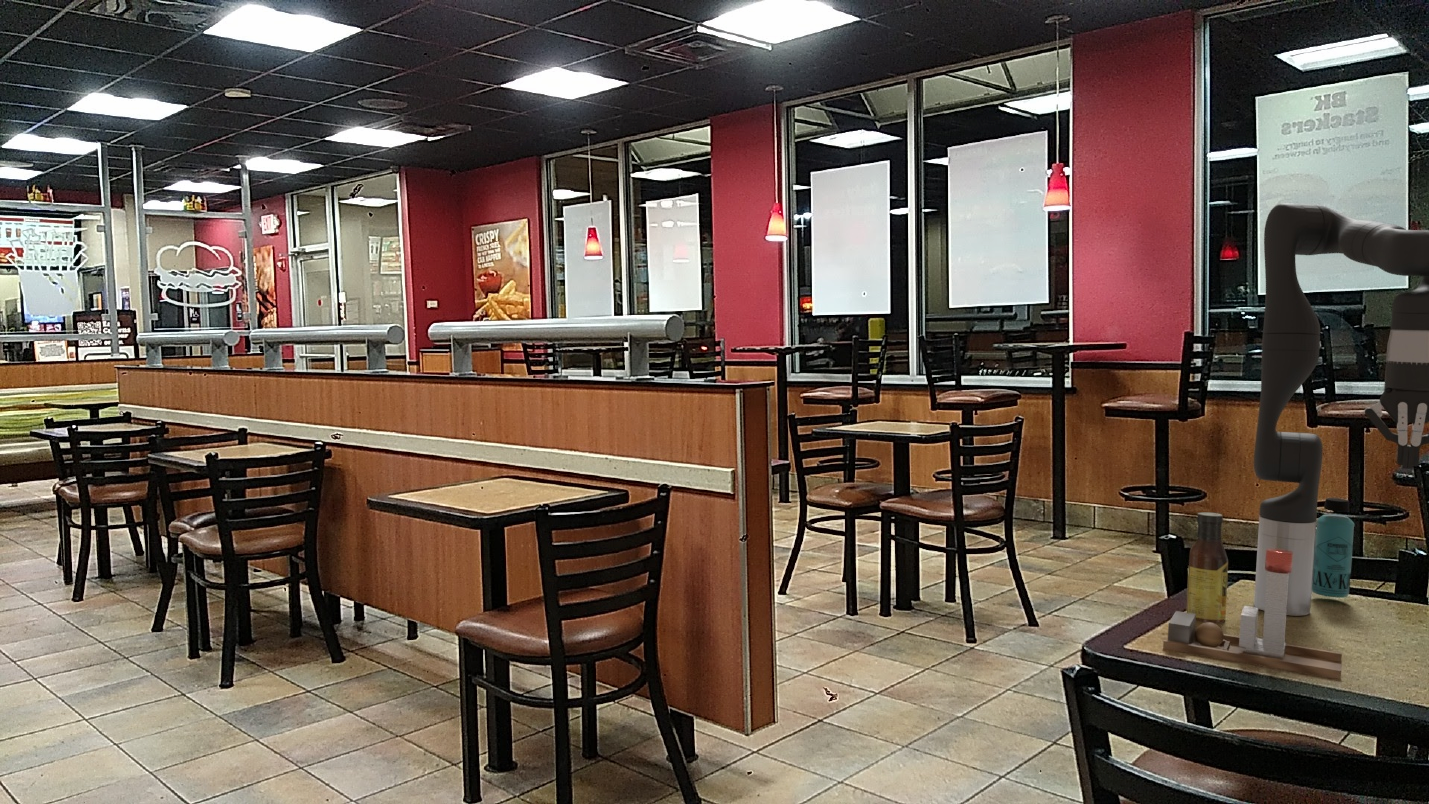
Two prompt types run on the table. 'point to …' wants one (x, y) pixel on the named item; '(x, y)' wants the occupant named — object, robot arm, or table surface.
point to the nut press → (1294, 658)
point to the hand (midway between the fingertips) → (1406, 468)
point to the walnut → (1209, 634)
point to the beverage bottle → (1333, 551)
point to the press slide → (1269, 609)
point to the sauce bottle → (1208, 571)
